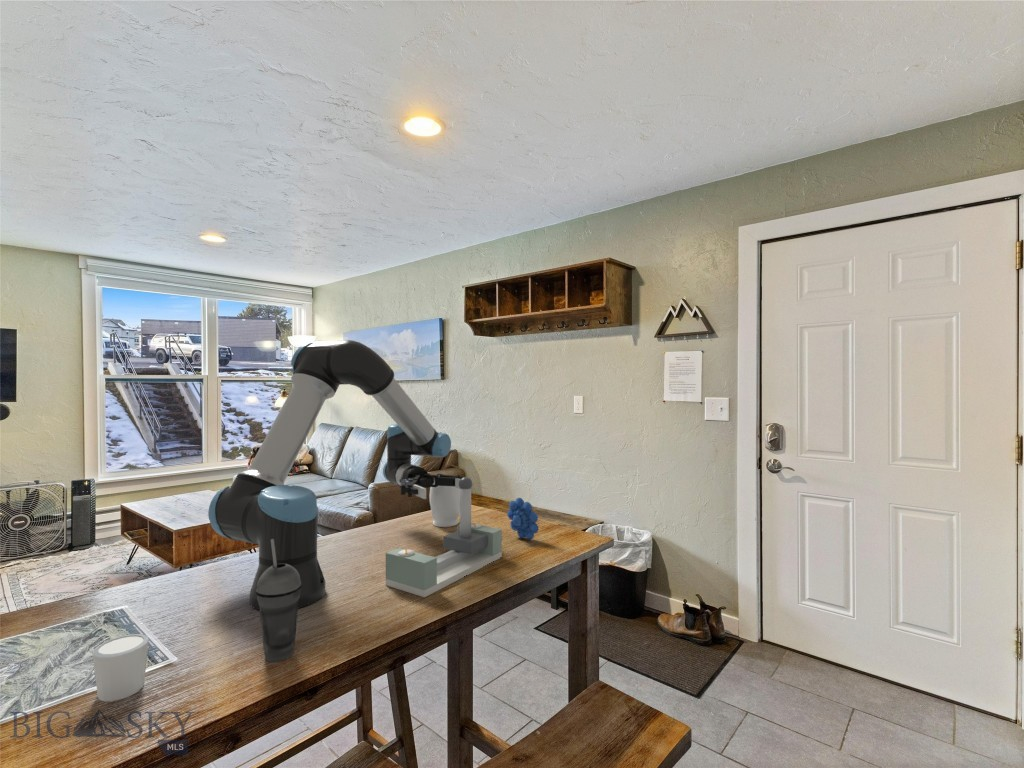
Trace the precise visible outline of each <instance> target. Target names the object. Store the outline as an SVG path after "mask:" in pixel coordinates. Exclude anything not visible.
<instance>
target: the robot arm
mask: <svg viewBox="0 0 1024 768" xmlns="http://www.w3.org/2000/svg"><path fill="white" fill-rule="evenodd" d="M290 365H291V369H290V370H291V373H292V375H291V376H290V377H291V378H290V380H291V382H292V384H293V386H292V387H291V390H290V392H289V394H288V395H287V397H286V399H285V401H284V402H283V404H282V406H281V409H280V410H279V412H278V414H277V415H276V417H275V419H274V421H273V423H272V425H271V427H270V429H269V431H268V432H267V434H266V435H265V438H264V439H263V441H262V443H261V445H260V447H259V448H258V451H257V453H256V454H255V456H254V458H253V460H252V461H251V463H250V466H249V467H248V469H246V470H244V471H241V472H238V474H237V475H236V477H235V478H234V481H233V482H232V484H231V485H228V486H225V487H224V488H221V489H219V490H218V491H217V492H216V493H215V494H214V496H213V497H212V499H211V501H210V503H209V507H208V514H207V516H208V520H209V524H210V526H211V528H212V529H213V531H214V532H215V533H216V534H218V535H219V536H222V537H224V538H227V539H230V540H232V541H241V542H244V543H250V544H254V545H258V567H257V570H256V573H255V576H254V579H253V582H252V585H251V588H250V590H249V591H250V592H249V605H250V606H251V608H253V607H254V608H253V609H255V610H257V609H258V610H257V611H260V607H259V605H258V600H257V595H256V589H257V584H258V581H259V578H260V577H261V575H262V574H263V572H264V571H265V570H266V569H268V568H269V567H271V566H273V565H274V564H273V555H272V547H271V539H274V545H275V553H276V562H277V564H280V563H284V564H288V565H291V566H292V567H294V568H295V569H296V570H297V572H298V573H299V575H300V580H301V584H302V587H301V592H300V597H299V600H298V609H300V608H304V607H306V606H309V605H311V604H314V603H316V602H317V601H319V600H321V599H322V598H323V597H324V595H325V594H326V579H325V577H324V573H323V571H322V568H321V566H320V562H319V559H318V513H319V507H318V503H317V502H318V501H317V499H318V498H317V495H316V493H315V492H314V491H313V490H311V489H310V488H307V487H304V486H301V485H288V484H285V481H286V479H287V478H288V475H289V474H290V472H291V469H292V467H293V465H294V463H295V462H296V460H297V457H298V455H299V454H300V451H301V449H302V448H303V446H304V443H305V441H306V439H307V438H308V435H309V433H310V431H311V430H312V428H313V425H314V424H315V421H316V419H317V417H318V416H319V413H320V411H321V410H322V407H323V405H324V403H325V401H326V400H328V399H331V398H333V397H334V396H335V395H336V392H337V391H338V389H339V387H340V385H349V386H354V387H357V388H359V389H360V390H361V391H362V392H363V393H364V394H365V395H367V396H372V398H373V399H374V400H375V401H376V402H377V403H378V404H379V405H380V407H381V408H383V410H384V411H385V412H386V413H387V414H388V416H390V418H391V419H392V421H393V422H395V424H390V425H388V427H387V433H386V435H387V436H386V446H387V448H386V451H387V459H386V460H387V461H386V462H385V463H384V465H383V467H382V475H383V477H384V478H385V480H386V481H388V482H389V483H391V484H393V485H396V486H397V485H398V486H399V488H400V495H402V496H405V495H406V494H407V497H408V498H412V497H413V495H414V496H415V497H418V498H421V499H423V500H426V499H427V489H428V488H430V487H437V486H455V488H458V489H460V488H459V481H460V479H461V478H463V477H464V476H462V475H460V474H459V475H450V474H443V473H437V474H431V473H428V471H427V469H425V468H424V467H421V466H418V465H416V464H412V456H419V457H422V456H423V457H430V458H445V457H447V456H448V454H449V453H450V451H451V448H452V439H451V437H450V435H449V434H447V433H444V432H442V431H441V432H438V431H437V430H436V429H435V428H434V426H433V425H432V423H430V421H429V420H428V419H427V418H426V416H425V415H424V414H423V413H422V412H421V410H420V409H419V408H418V407H417V405H416V404H415V403H414V402H413V400H412V398H411V397H410V396H409V395H408V394H407V393H406V390H404V389H403V387H402V386H401V385H400V384H399V382H398V381H397V380H396V379H395V372H394V370H393V369H392V367H391V366H390V365H389V364H388V363H387V362H386V361H385V360H384V359H383V358H382V356H380V355H379V354H378V353H377V352H376V351H374V350H373V349H372V348H370V347H369V346H367V345H365V344H364V343H362V342H360V341H359V342H358V341H356V340H352V339H347V340H346V339H345V340H326V341H325V340H313V341H311V342H306V343H304V344H302V345H300V346H299V347H298V348H297V349H296V350H295V352H294V353H293V355H292V358H291V362H290ZM434 481H435V485H433V483H434Z"/></svg>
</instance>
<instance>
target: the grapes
mask: <svg viewBox="0 0 1024 768" xmlns="http://www.w3.org/2000/svg"><path fill="white" fill-rule="evenodd" d="M508 507H509V509H508V511H507V513H506V515H507V518H508V520H511V521H510V525H509V526H510V528H511V530H512V531H515V532H516V531H517V532H516V533H517V536H518V538H520V539H522V538H523V539H525V538H526V539H527V540H533V539H534V537H535V534H537V533H538V532H539V525H538V524H537V522H538V521H539V515H538V514H537V513H536V512H535V511H533V506H532V504H531V503H530V502H529V501H524V500H523V498H522V497H517V498H516V499H515V500H511V501H510V502H509V504H508Z"/></svg>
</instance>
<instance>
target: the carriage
mask: <svg viewBox="0 0 1024 768" xmlns="http://www.w3.org/2000/svg"><path fill="white" fill-rule="evenodd" d="M472 487H473V480H472V479H471V478H470V477H468V476H465V477H464V476H463V478H461V479H460V481H459V488H460V513H459V525H460V530H458V531H457V530H456V531H453V532H451V533H447V534H445V535H443V539H442V540H443V542H442V545H443V546H442V548H443V549H447V550H449V551H451V550H454V551H459V552H463V553H467V554H473V553H475V552H477V551H479V550H481V549H483V548H486V547H487V535H484V534H479V533H474V532H471V523H472Z"/></svg>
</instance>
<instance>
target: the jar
mask: <svg viewBox="0 0 1024 768" xmlns="http://www.w3.org/2000/svg"><path fill="white" fill-rule="evenodd" d="M433 485H435V481H434V483H433ZM429 506H430V512H431V516H432V518H433V521H432V525H433V526H435V527H439V528H440V527H441V528H450V527H453V526H458V525H459V524H460V520H458V518H459V516H460V489H458V488H455V486H437V487H429Z"/></svg>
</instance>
